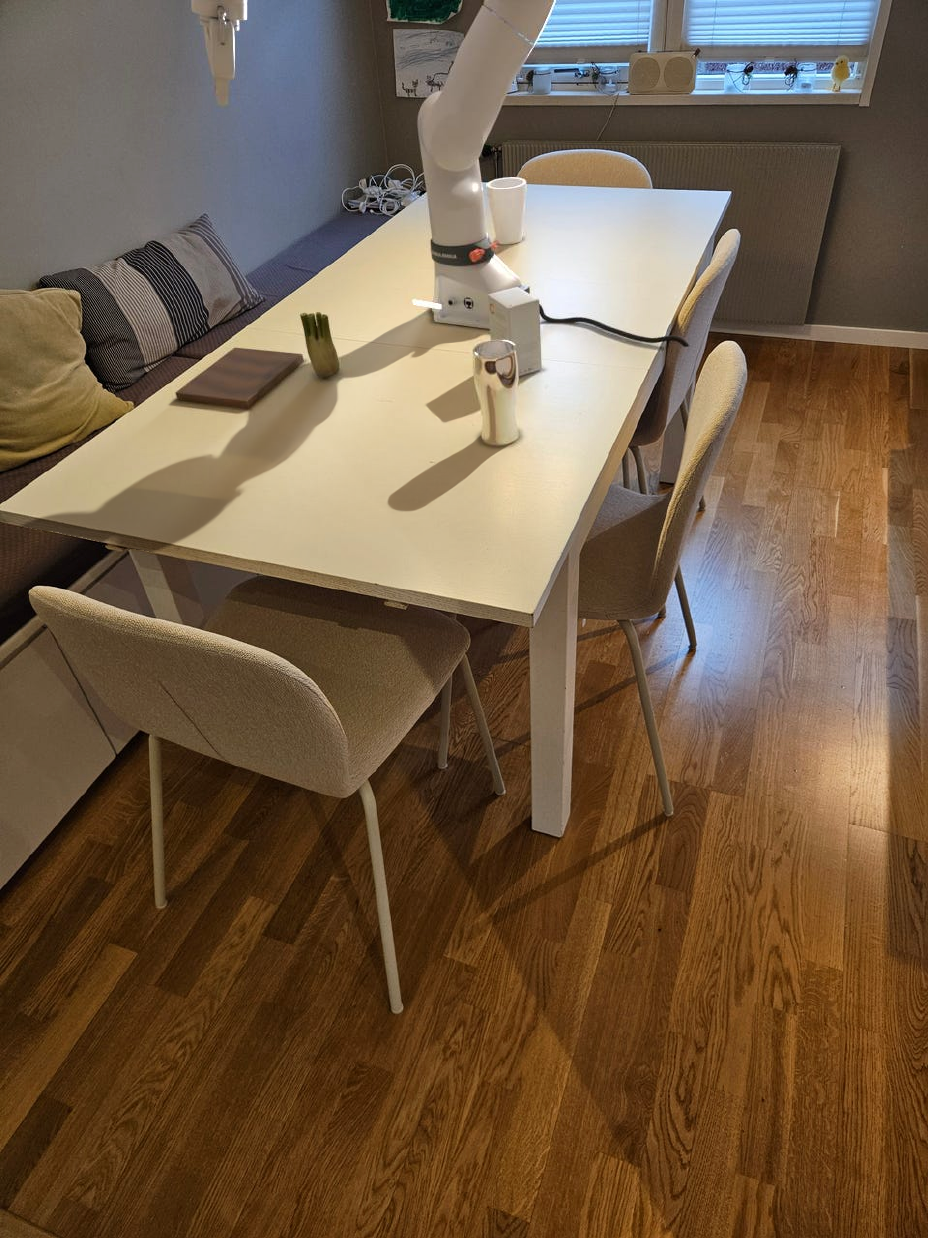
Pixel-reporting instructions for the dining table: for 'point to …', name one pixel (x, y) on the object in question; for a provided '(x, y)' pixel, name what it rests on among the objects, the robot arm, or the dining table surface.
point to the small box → (517, 325)
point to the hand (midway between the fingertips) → (220, 99)
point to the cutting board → (240, 377)
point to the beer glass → (496, 390)
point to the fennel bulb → (320, 344)
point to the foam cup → (507, 208)
